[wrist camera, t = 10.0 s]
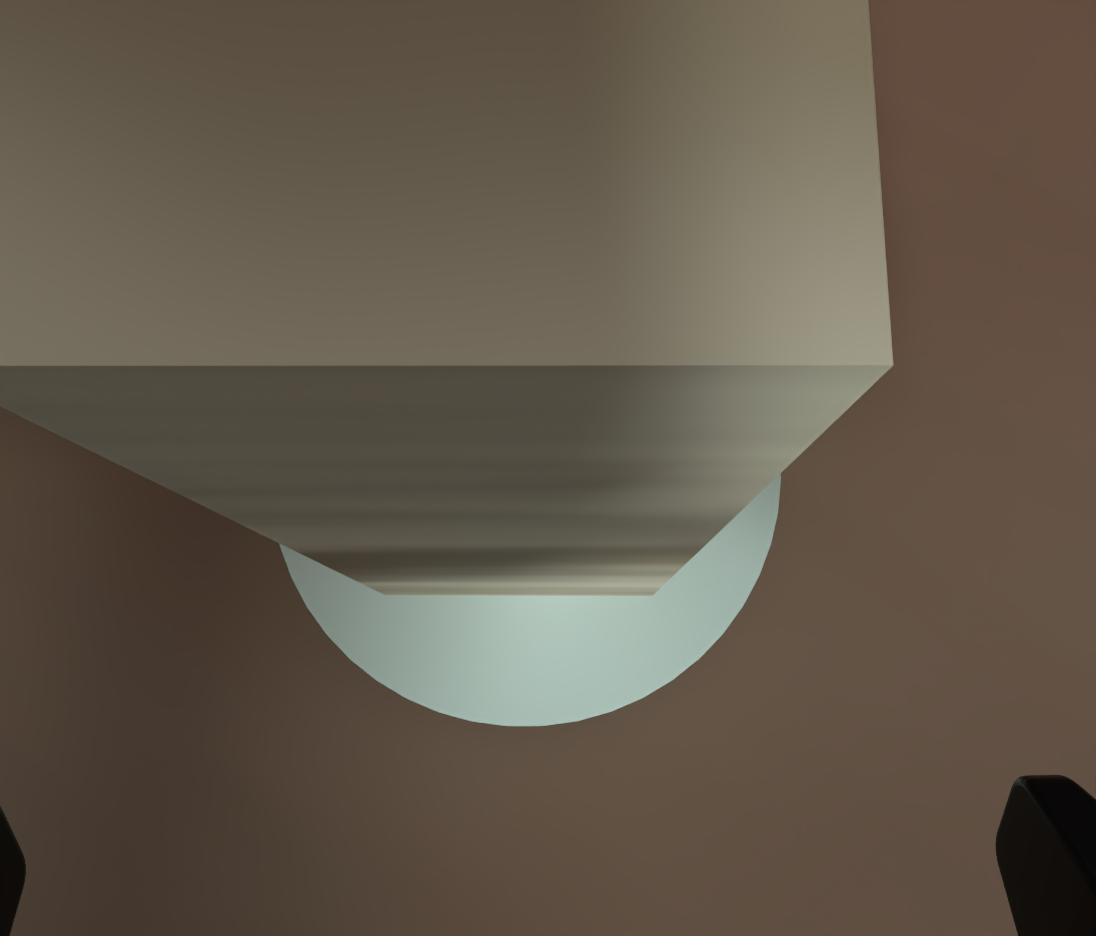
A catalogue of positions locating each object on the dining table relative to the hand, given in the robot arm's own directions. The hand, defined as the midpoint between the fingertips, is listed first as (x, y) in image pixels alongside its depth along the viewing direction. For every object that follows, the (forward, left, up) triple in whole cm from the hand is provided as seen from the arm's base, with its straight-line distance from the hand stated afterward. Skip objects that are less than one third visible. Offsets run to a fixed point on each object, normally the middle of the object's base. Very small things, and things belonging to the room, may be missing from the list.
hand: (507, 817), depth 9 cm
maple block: (+2, +5, -8) cm, 9 cm away
